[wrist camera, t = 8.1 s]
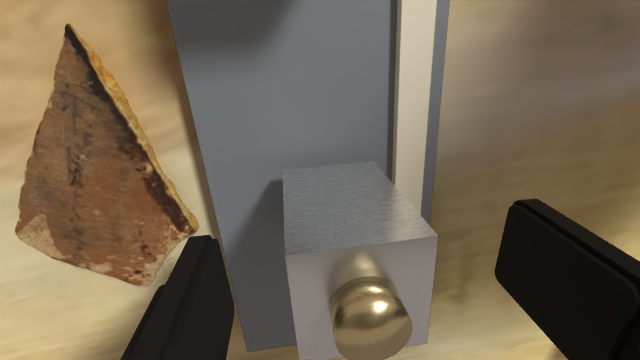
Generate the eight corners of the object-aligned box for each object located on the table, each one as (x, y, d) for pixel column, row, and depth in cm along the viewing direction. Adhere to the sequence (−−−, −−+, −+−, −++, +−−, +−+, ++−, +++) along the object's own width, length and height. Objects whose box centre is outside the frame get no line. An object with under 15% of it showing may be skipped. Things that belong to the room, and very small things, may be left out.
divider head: (282, 165, 14) (285, 283, 7) (369, 156, 14) (459, 259, 7) (291, 239, 15) (301, 398, 8) (369, 230, 15) (442, 374, 9)
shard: (88, 25, 13) (60, 21, 11) (255, 114, 15) (252, 121, 13) (28, 225, 16) (-2, 245, 14) (174, 273, 18) (163, 296, 16)
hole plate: (97, -361, 9) (49, -471, 7) (457, -344, 10) (499, -436, 8) (249, 331, 20) (246, 359, 18) (410, 307, 21) (423, 331, 19)
